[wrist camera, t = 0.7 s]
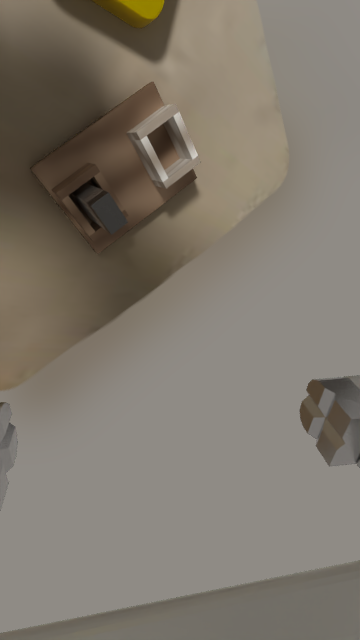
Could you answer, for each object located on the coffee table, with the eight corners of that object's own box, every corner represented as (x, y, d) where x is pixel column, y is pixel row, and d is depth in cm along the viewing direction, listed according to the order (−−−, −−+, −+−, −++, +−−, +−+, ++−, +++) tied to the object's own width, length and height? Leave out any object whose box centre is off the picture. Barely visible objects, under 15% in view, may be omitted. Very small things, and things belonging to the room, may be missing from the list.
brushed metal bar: (71, 193, 44) (90, 205, 36) (85, 182, 45) (108, 192, 36) (89, 218, 47) (111, 234, 38) (102, 207, 47) (128, 222, 38)
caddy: (29, 168, 42) (34, 171, 38) (149, 83, 44) (166, 76, 40) (95, 251, 51) (105, 261, 47) (192, 177, 53) (210, 180, 49)
